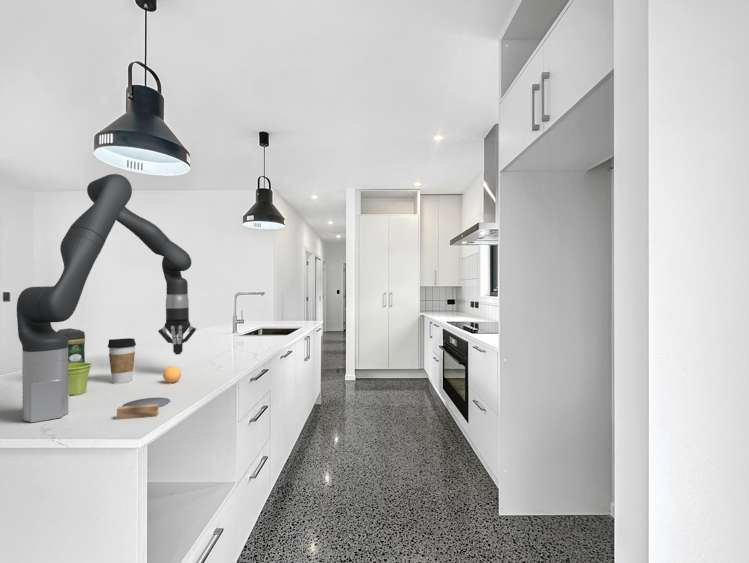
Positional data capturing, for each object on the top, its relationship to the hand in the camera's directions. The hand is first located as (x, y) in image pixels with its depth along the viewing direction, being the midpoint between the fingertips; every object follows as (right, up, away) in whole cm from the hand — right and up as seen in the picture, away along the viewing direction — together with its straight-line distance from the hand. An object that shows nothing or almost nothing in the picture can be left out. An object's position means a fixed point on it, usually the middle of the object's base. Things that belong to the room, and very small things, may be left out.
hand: (177, 354), depth 151 cm
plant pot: (-22, -9, -23) cm, 32 cm away
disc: (+8, -8, -35) cm, 37 cm away
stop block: (+12, -8, -46) cm, 48 cm away
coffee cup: (-16, -8, -8) cm, 19 cm away
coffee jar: (-34, -9, -7) cm, 36 cm away
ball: (+3, -5, -10) cm, 11 cm away
